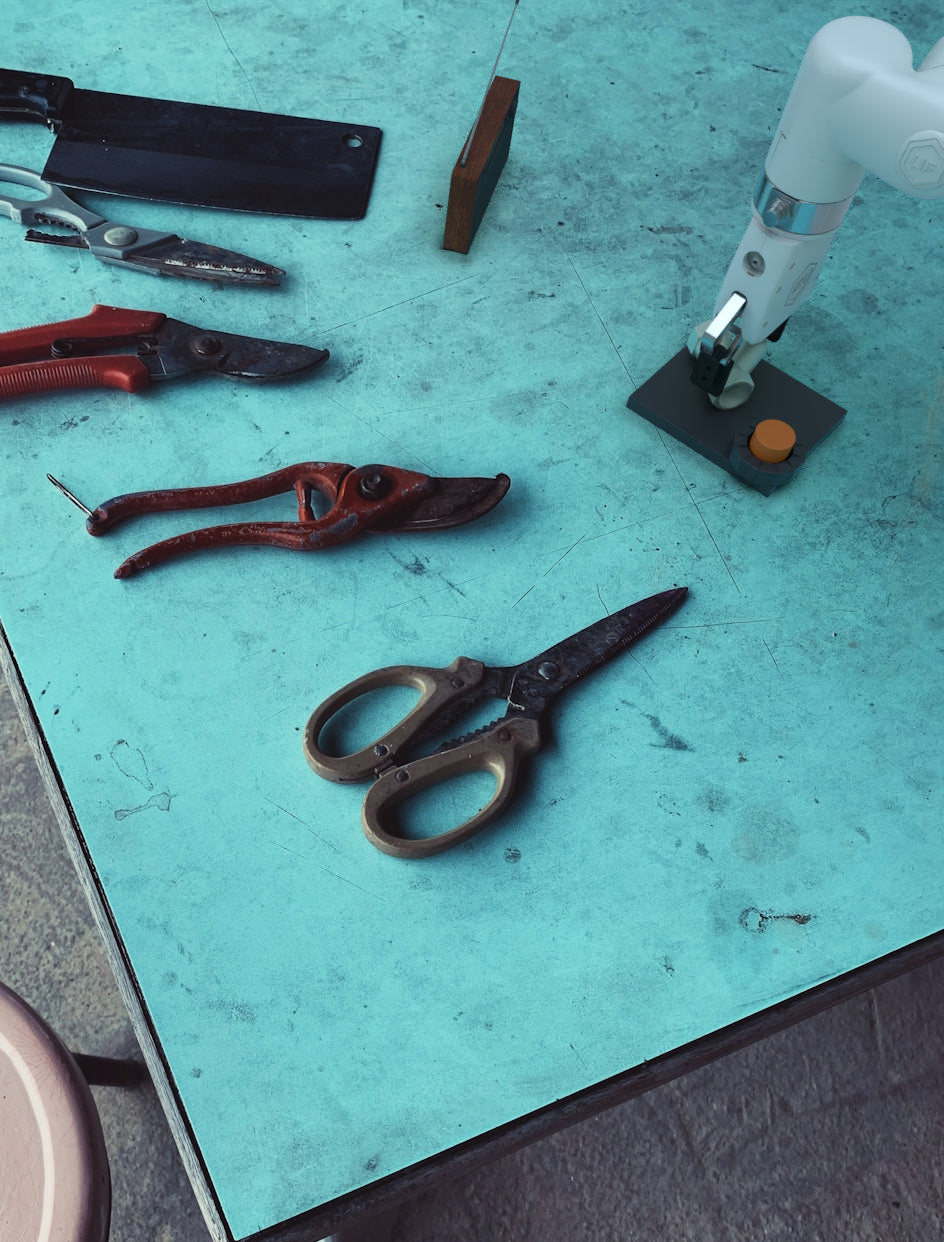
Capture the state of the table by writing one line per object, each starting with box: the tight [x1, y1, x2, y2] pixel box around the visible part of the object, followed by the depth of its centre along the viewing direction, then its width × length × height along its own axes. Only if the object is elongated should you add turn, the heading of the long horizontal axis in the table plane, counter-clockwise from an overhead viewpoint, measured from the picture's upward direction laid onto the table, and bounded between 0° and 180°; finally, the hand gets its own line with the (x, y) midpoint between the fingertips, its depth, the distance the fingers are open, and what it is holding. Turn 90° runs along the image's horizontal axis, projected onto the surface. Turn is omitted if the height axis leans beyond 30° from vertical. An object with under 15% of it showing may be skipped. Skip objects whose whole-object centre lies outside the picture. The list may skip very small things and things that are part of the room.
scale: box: [625, 339, 849, 498], centre depth 112 cm, size 17×14×3 cm
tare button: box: [749, 420, 796, 463], centre depth 107 cm, size 4×4×2 cm
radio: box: [442, 0, 522, 254], centre depth 120 cm, size 19×3×15 cm, turn 162°
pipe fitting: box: [686, 318, 768, 411], centre depth 112 cm, size 8×4×7 cm
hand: (734, 360), depth 111 cm, fingers closed on pipe fitting, 9 cm apart
